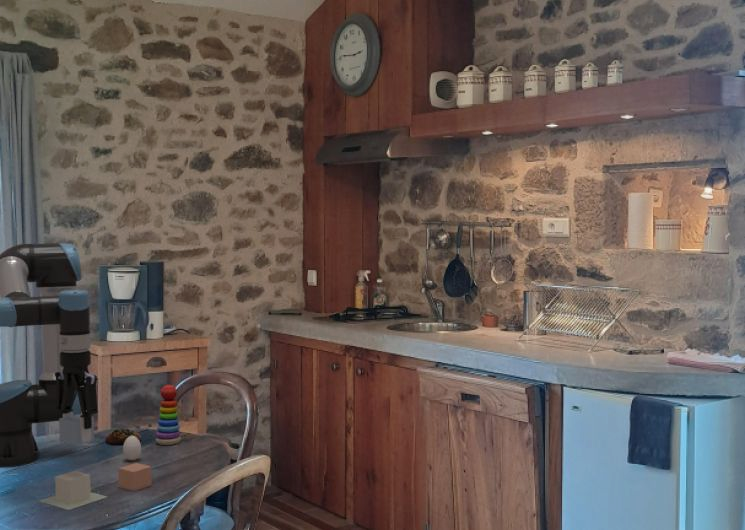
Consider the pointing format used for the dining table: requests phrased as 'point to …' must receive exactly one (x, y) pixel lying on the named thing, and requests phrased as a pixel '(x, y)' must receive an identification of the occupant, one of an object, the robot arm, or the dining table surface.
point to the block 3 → (135, 476)
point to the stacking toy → (168, 418)
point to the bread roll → (121, 436)
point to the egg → (132, 448)
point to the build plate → (67, 506)
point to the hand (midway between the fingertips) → (77, 439)
